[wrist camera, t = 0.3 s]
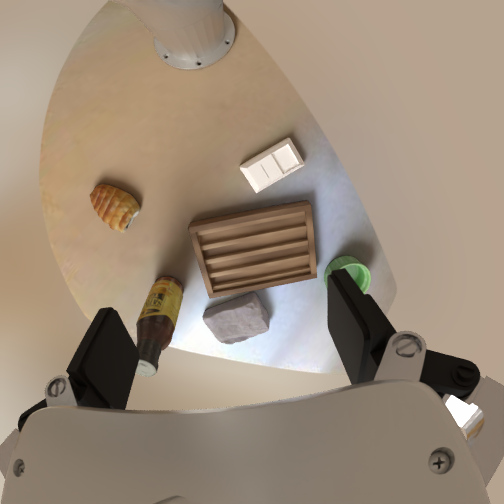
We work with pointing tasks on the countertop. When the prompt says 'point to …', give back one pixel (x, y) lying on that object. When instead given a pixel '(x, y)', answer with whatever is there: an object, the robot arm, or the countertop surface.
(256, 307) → the stone block
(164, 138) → the countertop surface
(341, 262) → the ramekin
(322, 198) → the countertop surface
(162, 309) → the sauce bottle
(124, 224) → the pastry
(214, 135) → the countertop surface
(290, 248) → the drying rack
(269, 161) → the soap bar
